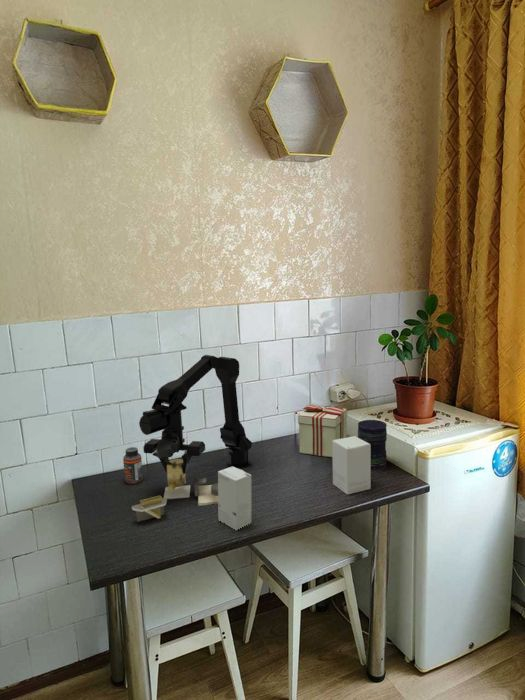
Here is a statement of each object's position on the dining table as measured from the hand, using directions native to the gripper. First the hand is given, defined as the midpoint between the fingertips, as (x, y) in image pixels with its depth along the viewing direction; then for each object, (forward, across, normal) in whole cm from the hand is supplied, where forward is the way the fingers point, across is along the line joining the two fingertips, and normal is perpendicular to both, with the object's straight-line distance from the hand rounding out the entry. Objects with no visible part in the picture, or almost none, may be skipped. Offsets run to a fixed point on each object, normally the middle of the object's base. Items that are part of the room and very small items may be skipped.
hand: (176, 472), depth 158 cm
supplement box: (+7, +54, +13) cm, 56 cm away
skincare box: (+7, +24, -15) cm, 29 cm away
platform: (+7, -1, -17) cm, 19 cm away
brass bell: (+4, 0, 0) cm, 4 cm away
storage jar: (+7, +60, +31) cm, 68 cm away
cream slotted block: (+7, +13, 0) cm, 15 cm away
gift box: (+7, +41, +45) cm, 61 cm away
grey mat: (+7, 0, 0) cm, 7 cm away
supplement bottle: (+7, -18, +6) cm, 20 cm away
